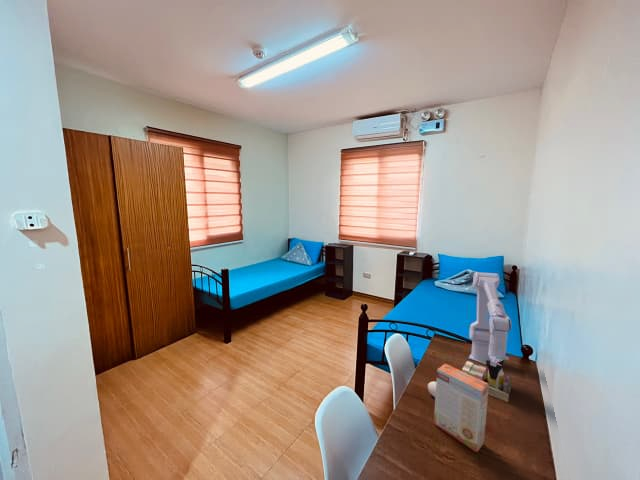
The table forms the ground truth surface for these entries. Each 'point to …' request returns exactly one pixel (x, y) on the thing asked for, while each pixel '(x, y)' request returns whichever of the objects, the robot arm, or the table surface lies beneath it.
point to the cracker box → (461, 406)
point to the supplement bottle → (498, 382)
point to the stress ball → (432, 388)
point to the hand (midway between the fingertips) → (494, 374)
